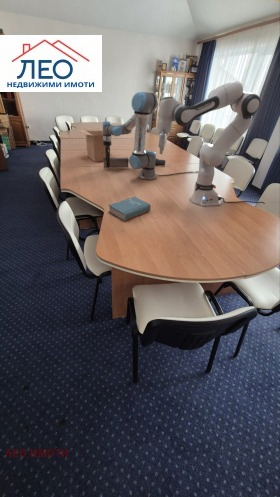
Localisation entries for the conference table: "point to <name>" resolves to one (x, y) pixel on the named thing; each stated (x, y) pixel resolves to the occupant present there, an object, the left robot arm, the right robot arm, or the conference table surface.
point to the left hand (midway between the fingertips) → (107, 166)
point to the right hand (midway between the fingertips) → (161, 152)
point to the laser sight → (160, 162)
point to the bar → (116, 162)
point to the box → (94, 144)
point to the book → (129, 208)
